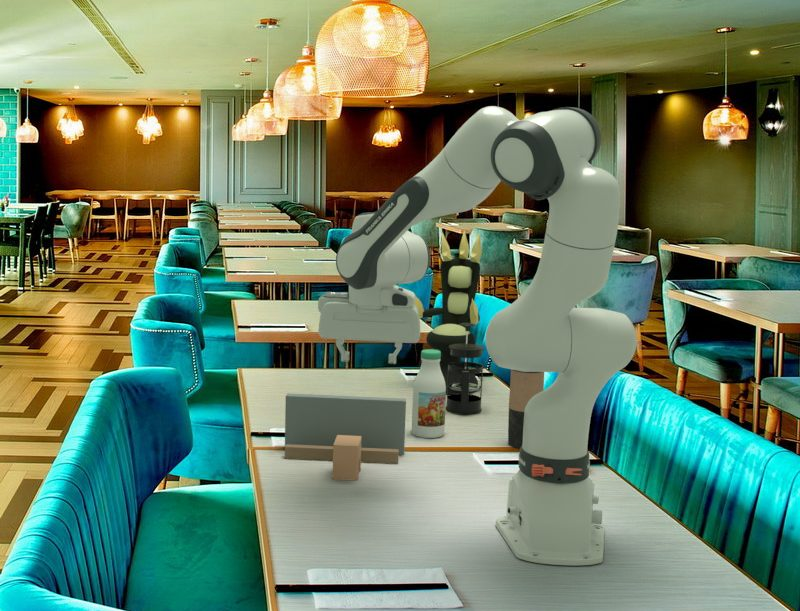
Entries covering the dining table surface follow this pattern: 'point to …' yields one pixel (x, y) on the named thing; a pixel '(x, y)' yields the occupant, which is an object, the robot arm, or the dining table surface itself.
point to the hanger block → (346, 457)
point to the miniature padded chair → (455, 306)
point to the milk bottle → (429, 397)
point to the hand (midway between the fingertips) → (368, 362)
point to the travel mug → (521, 402)
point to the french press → (465, 378)
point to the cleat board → (344, 426)
